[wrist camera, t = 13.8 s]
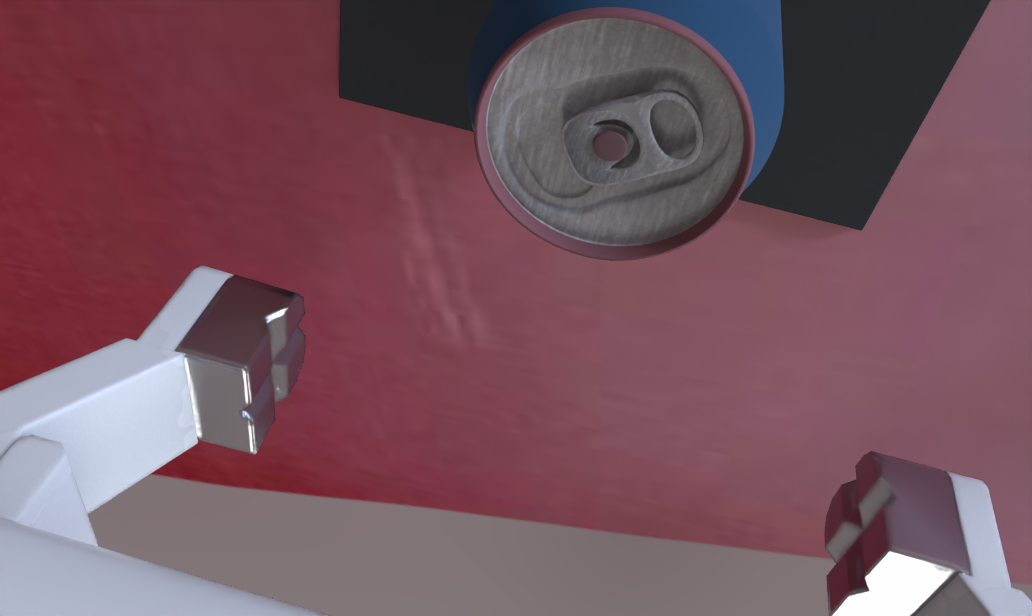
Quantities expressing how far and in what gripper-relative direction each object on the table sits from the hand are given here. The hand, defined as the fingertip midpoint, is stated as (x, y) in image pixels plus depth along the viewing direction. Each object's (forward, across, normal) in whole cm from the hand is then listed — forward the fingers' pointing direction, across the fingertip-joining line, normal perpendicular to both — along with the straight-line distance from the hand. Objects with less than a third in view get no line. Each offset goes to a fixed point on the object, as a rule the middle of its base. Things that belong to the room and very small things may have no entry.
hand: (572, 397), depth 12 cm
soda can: (+19, 0, 0) cm, 19 cm away
